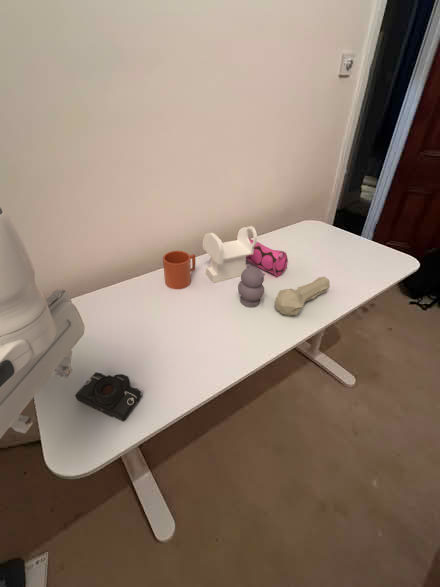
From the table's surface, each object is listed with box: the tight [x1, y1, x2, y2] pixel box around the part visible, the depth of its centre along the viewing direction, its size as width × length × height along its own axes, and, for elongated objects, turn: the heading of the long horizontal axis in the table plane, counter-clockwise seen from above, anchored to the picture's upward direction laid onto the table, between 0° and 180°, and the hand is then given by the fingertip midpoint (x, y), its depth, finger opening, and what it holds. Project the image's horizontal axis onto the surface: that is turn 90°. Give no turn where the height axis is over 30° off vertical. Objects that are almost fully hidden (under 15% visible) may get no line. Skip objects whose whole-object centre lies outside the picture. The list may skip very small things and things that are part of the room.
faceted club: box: [274, 276, 331, 316], centre depth 95 cm, size 9×8×25 cm
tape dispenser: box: [202, 225, 258, 284], centre depth 102 cm, size 14×13×18 cm
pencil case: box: [235, 235, 289, 277], centre depth 111 cm, size 21×10×10 cm, turn 45°
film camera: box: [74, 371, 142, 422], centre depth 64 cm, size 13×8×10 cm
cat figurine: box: [237, 263, 266, 308], centre depth 92 cm, size 8×8×12 cm
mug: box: [162, 250, 196, 290], centre depth 101 cm, size 12×9×10 cm
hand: (46, 398), depth 45 cm, fingers open, 8 cm apart
